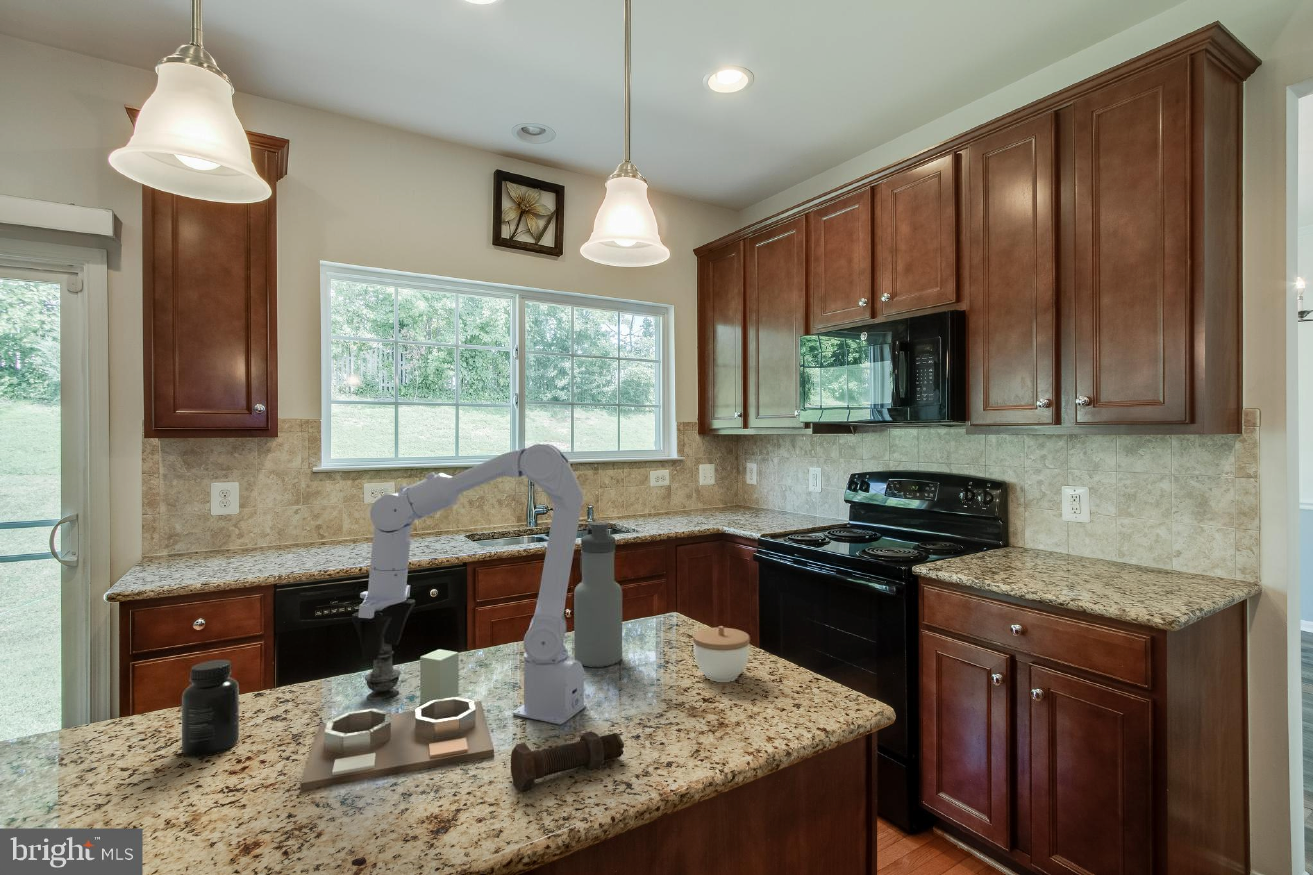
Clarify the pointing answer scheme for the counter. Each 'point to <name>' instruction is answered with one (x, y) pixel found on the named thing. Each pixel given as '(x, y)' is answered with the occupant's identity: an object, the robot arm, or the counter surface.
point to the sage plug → (439, 675)
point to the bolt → (562, 758)
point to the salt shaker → (383, 676)
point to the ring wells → (382, 725)
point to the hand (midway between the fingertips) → (381, 651)
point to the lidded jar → (721, 652)
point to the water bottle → (597, 601)
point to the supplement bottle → (210, 710)
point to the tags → (369, 759)
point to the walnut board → (396, 752)
